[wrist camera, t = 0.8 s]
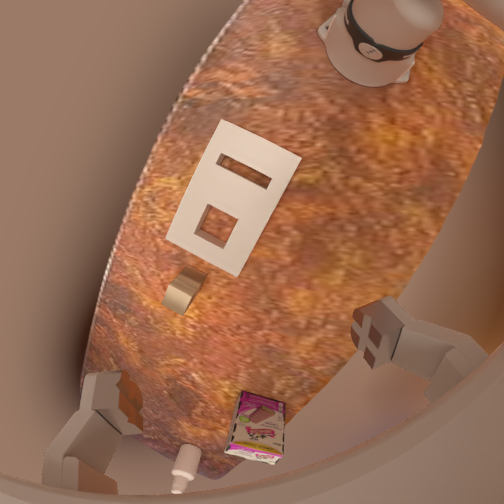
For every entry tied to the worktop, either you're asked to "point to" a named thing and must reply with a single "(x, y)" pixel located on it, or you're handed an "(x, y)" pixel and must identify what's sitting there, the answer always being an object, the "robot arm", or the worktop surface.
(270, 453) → the candy bar box
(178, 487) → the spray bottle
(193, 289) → the square peg
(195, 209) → the socket board
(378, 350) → the robot arm
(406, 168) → the worktop surface
